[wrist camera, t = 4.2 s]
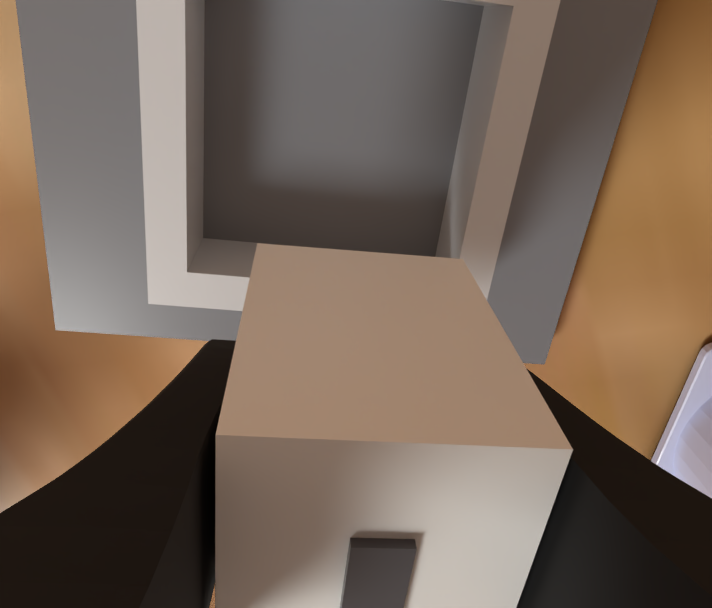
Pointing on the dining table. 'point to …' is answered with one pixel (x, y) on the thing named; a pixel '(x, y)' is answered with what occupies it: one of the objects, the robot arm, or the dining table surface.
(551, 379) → the dining table surface
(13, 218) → the dining table surface
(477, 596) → the brick
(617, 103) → the outlet plate
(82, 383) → the dining table surface
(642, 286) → the dining table surface
